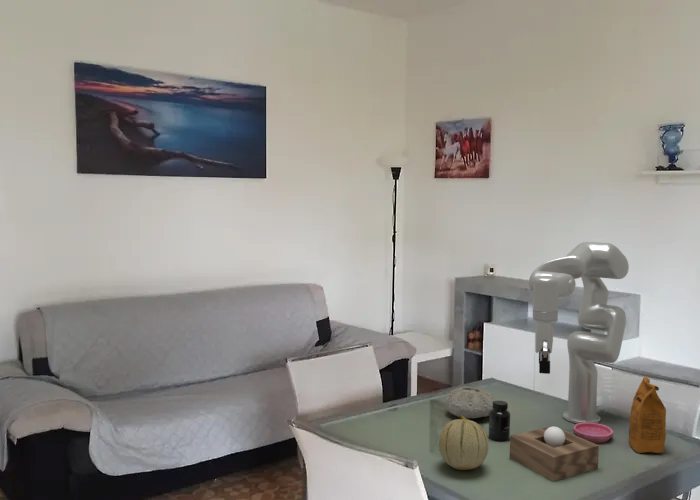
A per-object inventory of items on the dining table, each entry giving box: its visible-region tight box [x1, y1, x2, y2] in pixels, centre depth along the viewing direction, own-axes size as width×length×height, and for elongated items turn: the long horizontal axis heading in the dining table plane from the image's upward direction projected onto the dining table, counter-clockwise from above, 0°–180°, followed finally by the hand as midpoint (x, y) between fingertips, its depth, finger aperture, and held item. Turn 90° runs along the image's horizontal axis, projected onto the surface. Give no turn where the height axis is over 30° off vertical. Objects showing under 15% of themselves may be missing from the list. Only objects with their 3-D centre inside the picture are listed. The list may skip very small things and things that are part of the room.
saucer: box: [572, 423, 614, 444], centre depth 218 cm, size 12×12×3 cm
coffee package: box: [628, 376, 667, 454], centre depth 209 cm, size 10×12×22 cm
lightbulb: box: [544, 425, 565, 448], centre depth 198 cm, size 6×6×11 cm
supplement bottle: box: [488, 400, 511, 442], centre depth 217 cm, size 7×7×12 cm
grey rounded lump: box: [445, 385, 496, 420], centre depth 238 cm, size 18×18×10 cm
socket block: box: [509, 425, 600, 482], centre depth 197 cm, size 18×18×7 cm
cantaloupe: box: [438, 415, 489, 471], centre depth 194 cm, size 15×15×15 cm
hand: (544, 368), depth 208 cm, fingers open, 9 cm apart
